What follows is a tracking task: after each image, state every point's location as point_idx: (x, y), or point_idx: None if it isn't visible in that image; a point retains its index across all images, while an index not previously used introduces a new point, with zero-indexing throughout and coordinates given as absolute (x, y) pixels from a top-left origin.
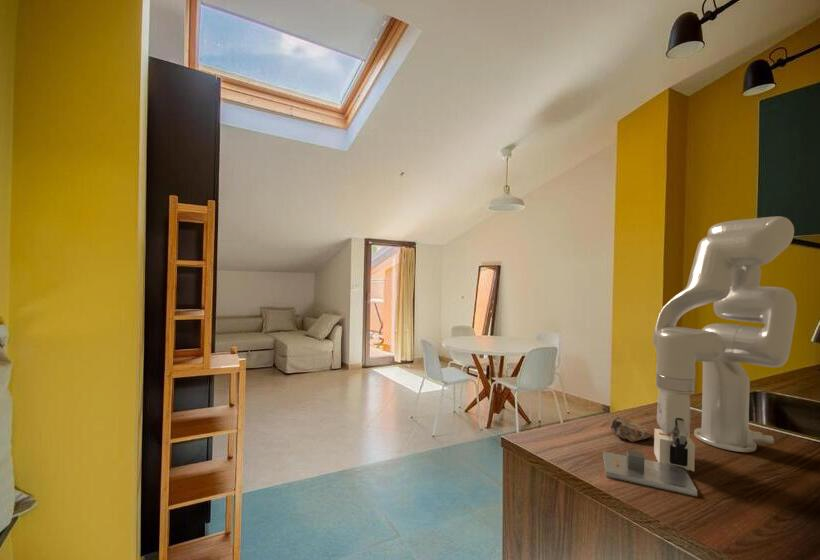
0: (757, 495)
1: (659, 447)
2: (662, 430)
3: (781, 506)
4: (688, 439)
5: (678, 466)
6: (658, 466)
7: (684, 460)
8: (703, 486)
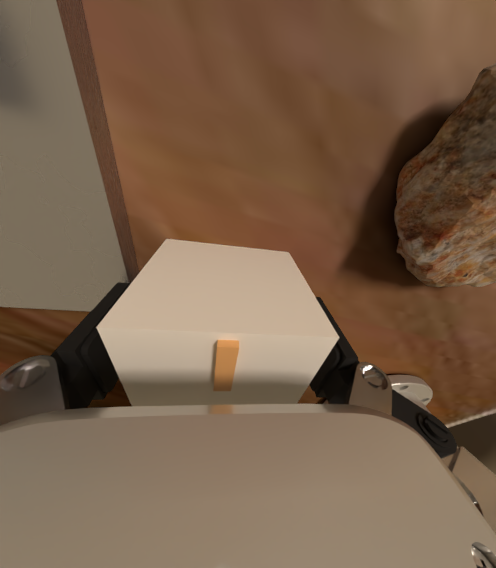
0: (121, 389)
1: (141, 280)
2: (57, 431)
3: (99, 402)
4: None
5: None
6: (50, 217)
7: None
8: (73, 321)
